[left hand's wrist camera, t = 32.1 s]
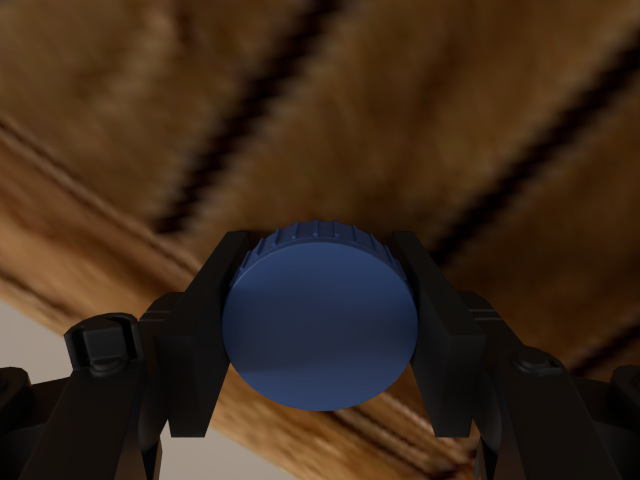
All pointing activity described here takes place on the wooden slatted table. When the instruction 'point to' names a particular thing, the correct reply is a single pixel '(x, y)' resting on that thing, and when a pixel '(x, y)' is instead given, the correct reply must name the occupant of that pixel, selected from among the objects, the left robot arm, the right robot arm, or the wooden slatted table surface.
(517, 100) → the wooden slatted table surface
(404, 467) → the wooden slatted table surface
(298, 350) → the lid
